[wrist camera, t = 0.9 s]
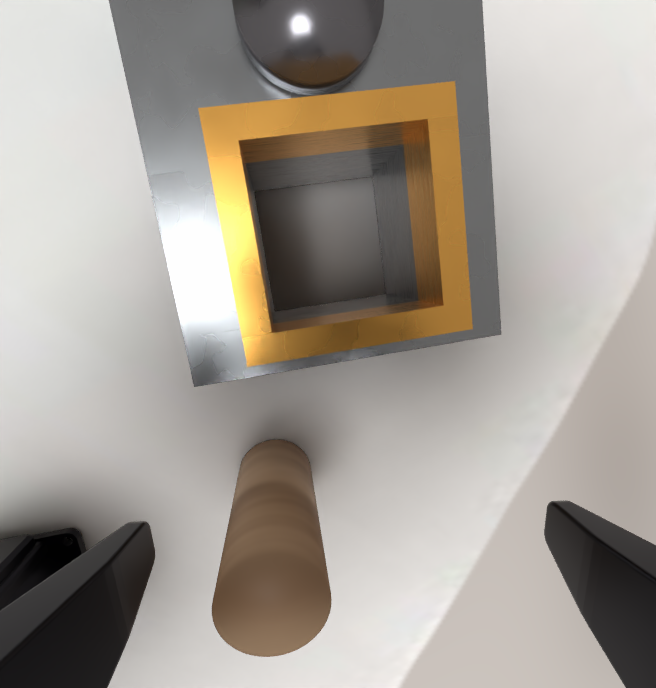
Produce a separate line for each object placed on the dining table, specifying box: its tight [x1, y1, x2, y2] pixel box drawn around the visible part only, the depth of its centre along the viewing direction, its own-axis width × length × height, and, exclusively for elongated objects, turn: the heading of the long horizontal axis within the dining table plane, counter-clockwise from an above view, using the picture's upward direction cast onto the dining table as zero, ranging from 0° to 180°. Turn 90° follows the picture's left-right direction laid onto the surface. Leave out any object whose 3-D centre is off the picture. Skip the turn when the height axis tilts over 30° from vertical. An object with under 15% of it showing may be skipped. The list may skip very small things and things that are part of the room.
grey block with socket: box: [109, 0, 501, 387], centre depth 16 cm, size 16×13×8 cm
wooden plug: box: [212, 440, 331, 657], centre depth 17 cm, size 4×4×9 cm
